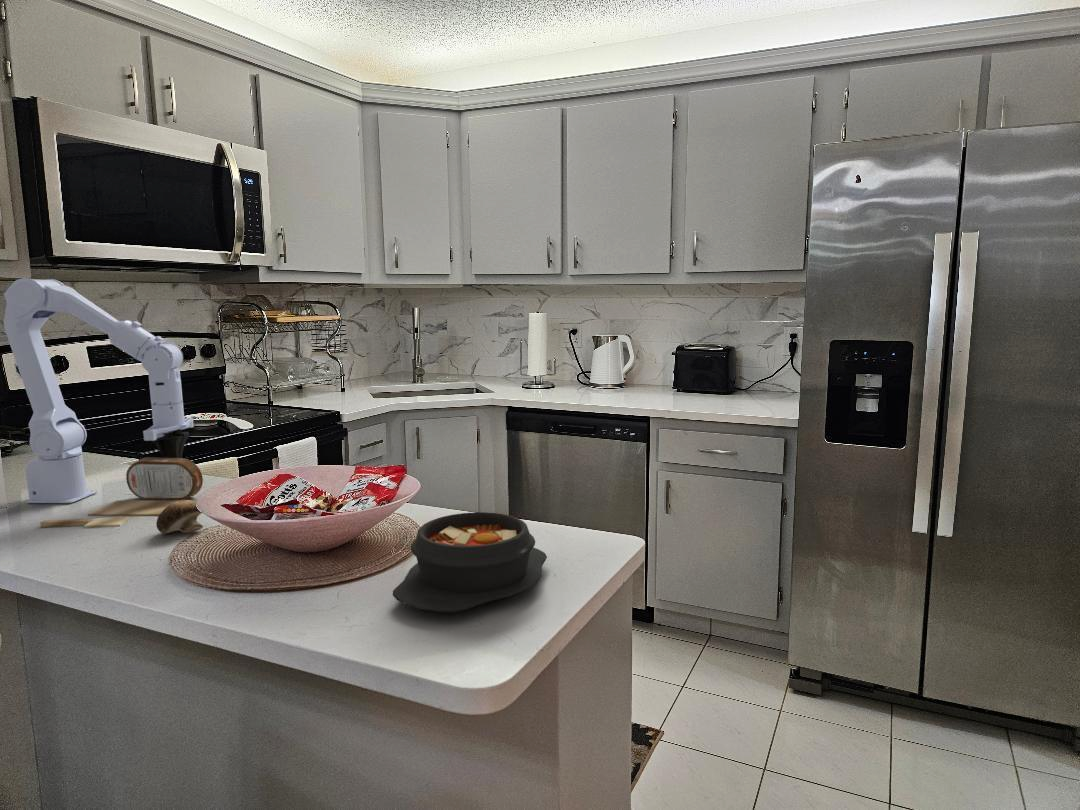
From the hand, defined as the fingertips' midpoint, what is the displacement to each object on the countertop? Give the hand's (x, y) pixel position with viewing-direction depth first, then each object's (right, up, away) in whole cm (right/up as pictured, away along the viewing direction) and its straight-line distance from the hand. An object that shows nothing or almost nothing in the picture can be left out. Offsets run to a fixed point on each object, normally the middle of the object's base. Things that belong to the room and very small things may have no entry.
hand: (173, 468), depth 146 cm
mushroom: (+14, -9, -23) cm, 29 cm away
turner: (-6, -8, -18) cm, 21 cm away
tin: (0, -6, -3) cm, 7 cm away
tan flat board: (-1, -7, -9) cm, 12 cm away
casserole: (+67, -12, -48) cm, 83 cm away
